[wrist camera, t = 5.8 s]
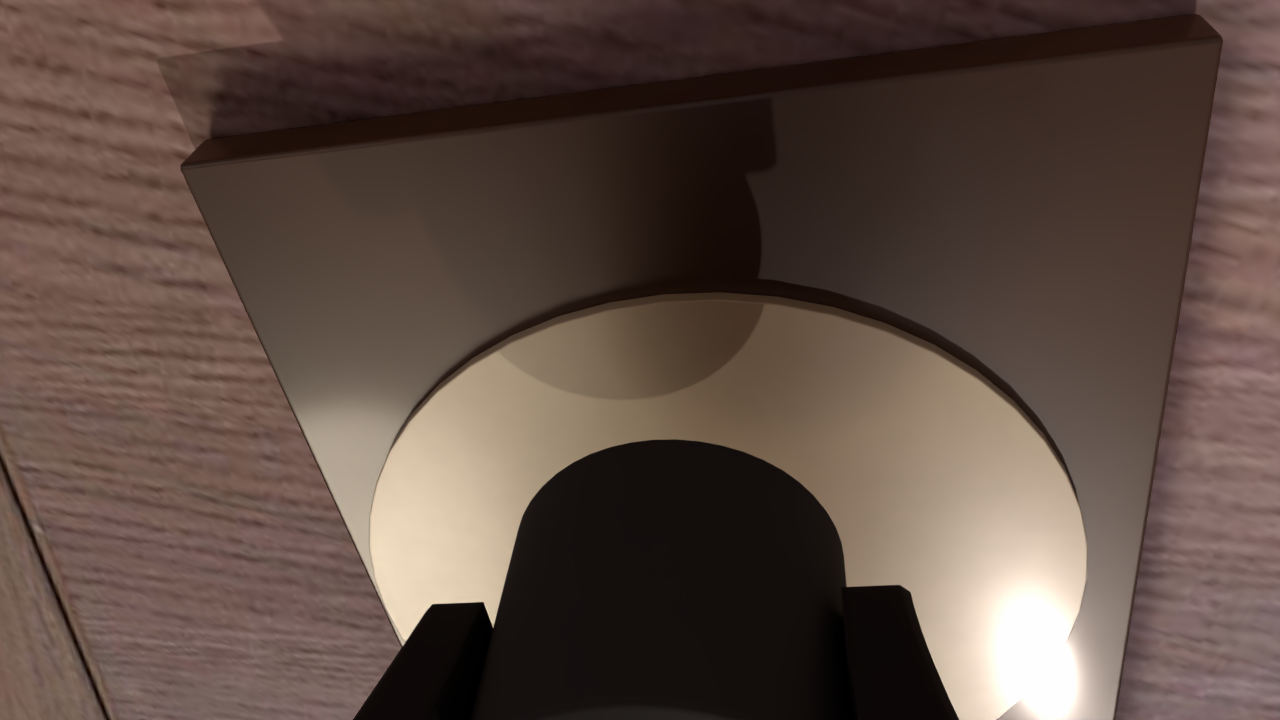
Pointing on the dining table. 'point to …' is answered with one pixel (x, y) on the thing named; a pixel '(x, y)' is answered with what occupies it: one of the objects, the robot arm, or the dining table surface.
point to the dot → (670, 594)
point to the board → (761, 319)
